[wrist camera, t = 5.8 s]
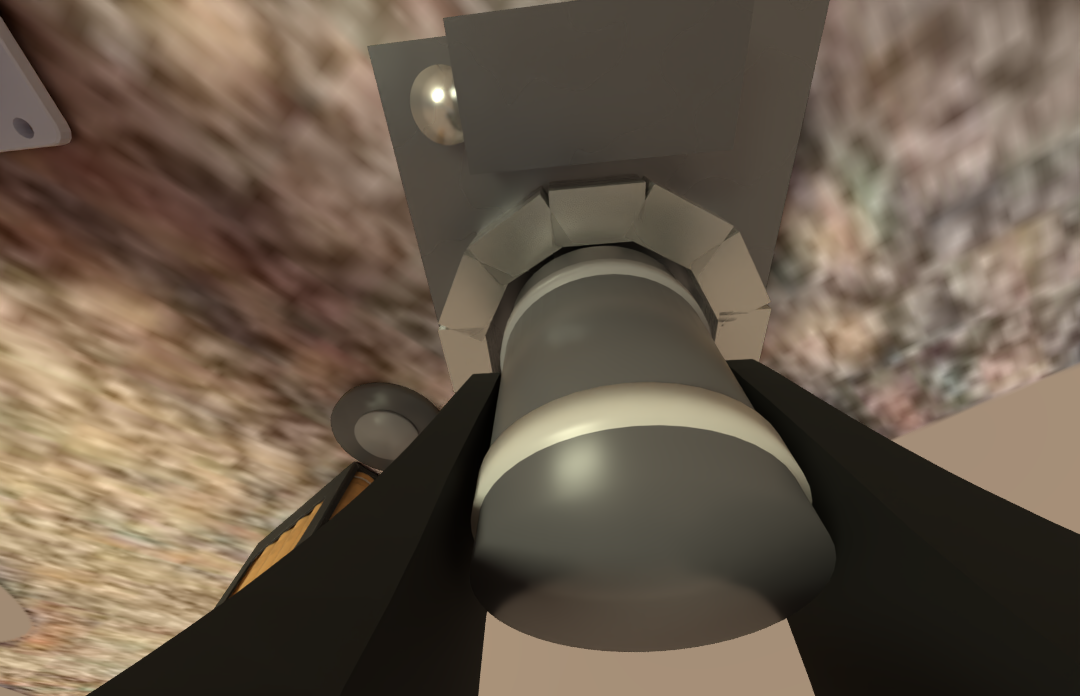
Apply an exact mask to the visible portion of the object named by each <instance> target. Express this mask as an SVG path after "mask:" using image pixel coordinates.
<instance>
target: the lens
mask: <svg viewBox="0 0 1080 696" xmlns="http://www.w3.org/2000/svg"><path fill="white" fill-rule="evenodd" d="M500 366H501V371H502V376H501V382H500V388H499V394H498V401H497V407H496V413H495V419H494V425H493V431H492V437H491V443H490V449H489V450H488V452H487V453H486V455H485V457H484V459H483V462H482V464H481V467H480V470H479V474H478V480H477V486H476V491H475V497H474V502H473V508H472V514H471V530H472V534H473V537H474V540H475V541H474V547H473V553H472V560H471V566H470V572H469V577H470V585H471V588H472V590H473V593H474V595H475V597H476V598H477V600H478V601H479V603H480V604H481V605H482V606H483V607H484V608H485V609H486V610H487V611H488V612H489V613H490V614H491V615H493V616H494V617H495V618H497V619H498V620H499V621H501V622H503V623H504V624H506V625H508V626H510V627H512V628H514V629H516V630H518V631H520V632H522V633H525V634H528V635H530V636H533V637H536V638H539V639H542V640H545V641H549V642H553V643H557V644H562V645H566V646H571V647H577V648H584V649H591V650H601V651H618V652H649V651H666V650H677V649H685V648H692V647H699V646H704V645H709V644H714V643H719V642H722V641H727V640H731V639H735V638H738V637H741V636H744V635H747V634H751V633H754V632H756V631H759V630H761V629H764V628H767V627H769V626H771V625H773V624H775V623H777V622H780V621H781V620H784V619H785V618H787V617H789V616H791V615H792V614H794V613H796V612H798V611H799V610H800V609H802V608H803V607H804V606H806V605H807V604H809V603H810V602H811V601H812V600H813V599H814V598H815V597H816V596H817V595H818V594H819V593H821V591H822V590H823V589H824V587H825V586H826V585H827V583H828V582H829V580H830V578H831V576H832V574H833V572H834V569H835V563H836V552H835V545H834V543H833V541H832V539H831V537H830V535H829V533H828V531H827V530H826V528H825V526H824V525H823V523H822V521H821V520H820V518H819V516H818V515H817V513H816V511H815V509H814V508H813V506H812V496H811V491H810V486H809V484H808V482H807V480H806V478H805V476H804V474H803V472H802V470H801V469H800V467H799V466H798V464H797V462H796V461H795V459H794V458H793V456H792V454H791V453H790V451H789V450H788V448H787V446H786V445H785V443H784V442H783V440H782V438H781V437H780V435H779V434H778V433H777V431H776V430H775V429H774V428H773V426H772V425H771V424H770V423H769V422H768V421H767V420H766V419H765V418H764V417H762V416H761V415H760V414H759V413H758V412H756V411H755V409H754V408H753V406H752V404H751V403H750V401H749V399H748V397H747V396H746V394H745V392H744V391H743V389H742V387H741V386H740V384H739V382H738V381H737V379H736V377H735V376H734V374H733V372H732V371H731V369H730V367H729V366H728V364H727V362H726V361H725V359H724V357H723V356H722V354H721V352H720V351H719V349H718V347H717V346H716V344H715V342H714V341H713V339H712V337H711V331H710V328H709V325H708V322H707V320H706V318H705V316H704V314H703V312H702V310H701V309H700V307H699V305H698V304H697V302H696V301H695V299H694V298H693V296H692V295H691V294H690V292H689V291H688V290H687V289H686V288H685V287H684V286H683V285H682V284H681V283H680V282H679V281H678V280H677V279H676V278H675V277H674V275H673V274H672V273H671V272H670V271H669V270H668V269H667V268H666V267H665V266H664V265H662V264H661V263H660V262H658V261H657V260H655V259H654V258H652V257H650V256H648V255H646V254H644V253H641V252H638V251H636V250H633V249H628V248H623V247H617V246H594V247H588V248H582V249H578V250H575V251H572V252H569V253H566V254H564V255H562V256H559V257H557V258H555V259H553V260H552V261H550V262H549V263H547V264H545V265H544V266H543V267H542V268H540V269H539V270H538V271H537V272H536V273H534V275H533V276H532V277H531V278H530V279H529V280H528V281H527V282H526V284H525V285H524V286H523V288H522V289H521V291H520V293H519V295H518V297H517V299H516V301H515V304H514V307H513V310H512V313H511V315H510V317H509V319H508V321H507V324H506V328H505V331H504V336H503V342H502V348H501V354H500Z"/></svg>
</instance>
